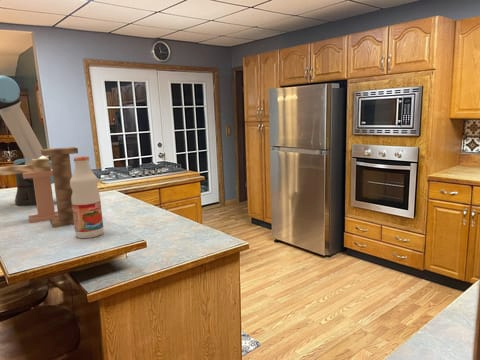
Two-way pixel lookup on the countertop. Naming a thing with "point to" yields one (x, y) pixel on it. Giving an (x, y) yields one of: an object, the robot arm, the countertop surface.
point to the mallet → (28, 167)
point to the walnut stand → (62, 183)
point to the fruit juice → (85, 200)
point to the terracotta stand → (42, 196)
